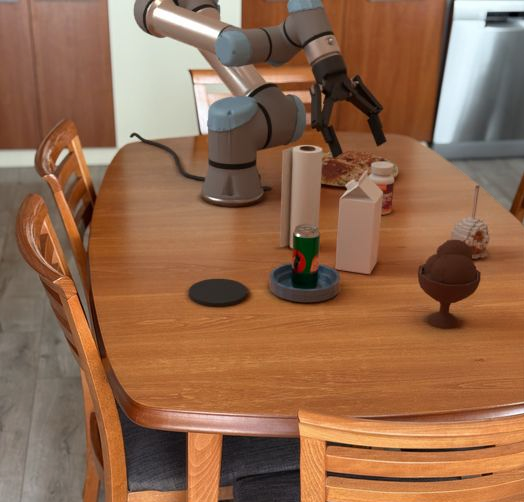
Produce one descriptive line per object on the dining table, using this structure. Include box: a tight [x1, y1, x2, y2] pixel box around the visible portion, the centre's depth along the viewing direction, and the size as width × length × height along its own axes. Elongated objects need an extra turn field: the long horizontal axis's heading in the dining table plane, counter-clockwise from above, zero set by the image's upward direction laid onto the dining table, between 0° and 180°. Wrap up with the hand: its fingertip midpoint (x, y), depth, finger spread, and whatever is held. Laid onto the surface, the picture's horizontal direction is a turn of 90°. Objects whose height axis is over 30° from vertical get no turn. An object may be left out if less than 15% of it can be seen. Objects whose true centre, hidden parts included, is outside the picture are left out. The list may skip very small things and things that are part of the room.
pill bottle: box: [368, 162, 395, 216], centre depth 202 cm, size 6×6×11 cm
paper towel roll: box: [279, 144, 323, 250], centre depth 179 cm, size 7×6×21 cm
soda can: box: [291, 224, 321, 289], centre depth 161 cm, size 5×5×12 cm
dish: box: [268, 262, 342, 303], centre depth 164 cm, size 13×13×3 cm
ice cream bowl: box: [417, 239, 482, 329], centre depth 150 cm, size 11×11×15 cm
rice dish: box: [321, 148, 400, 187], centre depth 229 cm, size 28×28×5 cm
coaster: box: [188, 278, 248, 308], centre depth 162 cm, size 11×11×1 cm
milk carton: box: [334, 170, 383, 275], centre depth 170 cm, size 7×7×19 cm
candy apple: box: [449, 184, 491, 260], centre depth 178 cm, size 8×8×15 cm
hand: (360, 149), depth 193 cm, fingers open, 13 cm apart
